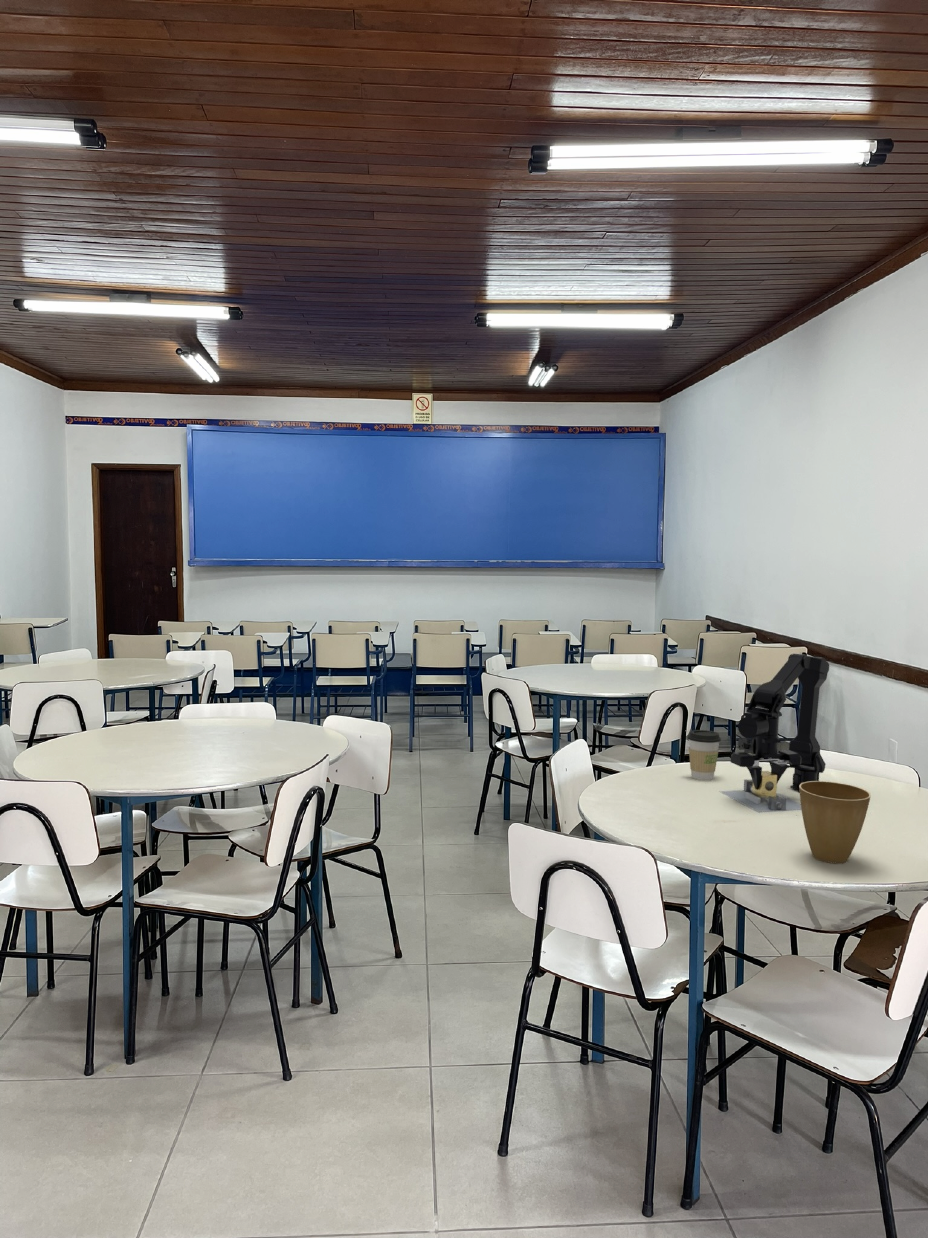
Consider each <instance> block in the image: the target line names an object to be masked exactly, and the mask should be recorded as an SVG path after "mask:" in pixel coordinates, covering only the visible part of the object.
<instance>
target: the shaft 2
mask: <svg viewBox="0 0 928 1238" xmlns="http://www.w3.org/2000/svg"><path fill="white" fill-rule="evenodd" d="M785 797H786V796H785ZM785 797H773V796H768V797H767V798H766V803H767V804H768V808H769V809H770V810H786V798H785Z"/></svg>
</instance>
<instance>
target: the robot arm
mask: <svg viewBox="0 0 928 1238" xmlns="http://www.w3.org/2000/svg"><path fill="white" fill-rule="evenodd" d="M787 659H788V660H787V661H786V662H785V663H784V665H782V667H781V668H780V669H779V670H778V672H777V673H776V674H775V675H774V677H773V678H772V679H771V680H770V681H767V682H763V683H762V684H760V685H759V686H758V687H757V688H756V689H755V691H754V692H753V694H752V697H751V699H750V702H749V703H748V706H747V708H746V712H745V716H744V717H742V718H741V719H740V720H739V723H738V724H737V730H738V731H739V732H738V733H739V734H740V735H741V736H742V737H743V738H738V742H737V743H738V744H737V747H738V750H740V751H741V752H732V754H731V756H730V763H731V764H733V765H736V766H737V767H741V768H746V769H747V770H748V771H749V772H748V773H749V774H750V776H751V780H752V781H753V784H754V787H755V789H756V790H758V789H759V786H760V779H761V773H762V771H763V767H762V766H760V763H766V762H767V763H768V762H769V765H770V772H772V773H774V774H776V775H777V784H778V783H779V781H780V779H781V778H782V776H783V775H784V773H785V772H786V771H787V769H794V770H793V771H794V772H793V774H792V785H790V786H789V787H790V788H791V789H794V790H796V791H797V792H800V791H799V785H800V784H801V783H804V782H809V781H820V774H822V773H824V771H825V769H826V762H825V760H824V758H823V757H822V754H821V745H820V744H819V742H818V739H817V737H816V730H817V720H818V710H819V701H820V700H819V699H820V689H821V687H822V685H823V684H824V683H825V682H826V681H827V678H828V673H829V672H830V663H829V662H828V661H827V659H826V658H825V657H819V656H811V655H808V654H803V653H791V654H789V656H788V658H787ZM797 679H798V681H799V683H800V685H801V692H800V701H799V713H798V722H797V723H798V725H797V734H796V735H795V737H794V738H793V739H790V741H789V744H788V745H789V746H788V747H789V748H788V750H787V749H785V750H778V747H779V746H778V745H779V743H781V742H782V741H781V738H779V720H780V719H779V717H783V714H782V712H781V711H780V710H781V709H782V708H783V706H784V705H785V703H786V701H787V695H786V693H787V691H788V690H789V689H790V688H791V686H792V685H793V684H794V683H795V681H796V680H797ZM749 739H751V740H749ZM788 763H789V764H788Z"/></svg>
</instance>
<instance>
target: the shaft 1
mask: <svg viewBox="0 0 928 1238" xmlns="http://www.w3.org/2000/svg"><path fill="white" fill-rule="evenodd" d="M743 790H744V791H745V792H752V793H753V781H752V779H743ZM755 795H756V794H755ZM756 796H758V795H756Z"/></svg>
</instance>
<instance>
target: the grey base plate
mask: <svg viewBox="0 0 928 1238" xmlns="http://www.w3.org/2000/svg"><path fill="white" fill-rule="evenodd" d="M718 792H719V793H721V794H723V795H725V796H727V797H729V798H730V799H733V800H734V801H736V802H738V803H740V804H742V805H744V806H745V807H747V808H750V809H751V810H753V811H754V812H757V813H773V812H789V811H792V812H794V811H802V810H801V802H797V801H795V800H793V799H791V798H790V797H787V796H785V795H783V794H781V793H778V792H776V796H774V797H785V798H786V810H770V809H769V808H768V804H767V803H766V798H767V797H760V796H756V795H755V794H754V793H752V792H745V791H744V789H743V790H725V791H721V790H720V791H718Z"/></svg>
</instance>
